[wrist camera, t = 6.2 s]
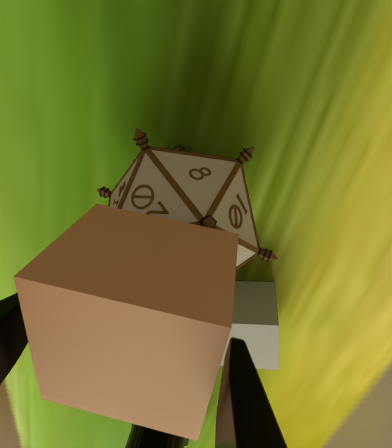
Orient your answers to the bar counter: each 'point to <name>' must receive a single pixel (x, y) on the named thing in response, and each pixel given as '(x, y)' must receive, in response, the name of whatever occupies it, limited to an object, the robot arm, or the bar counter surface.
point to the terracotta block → (131, 317)
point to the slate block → (256, 322)
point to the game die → (191, 192)
